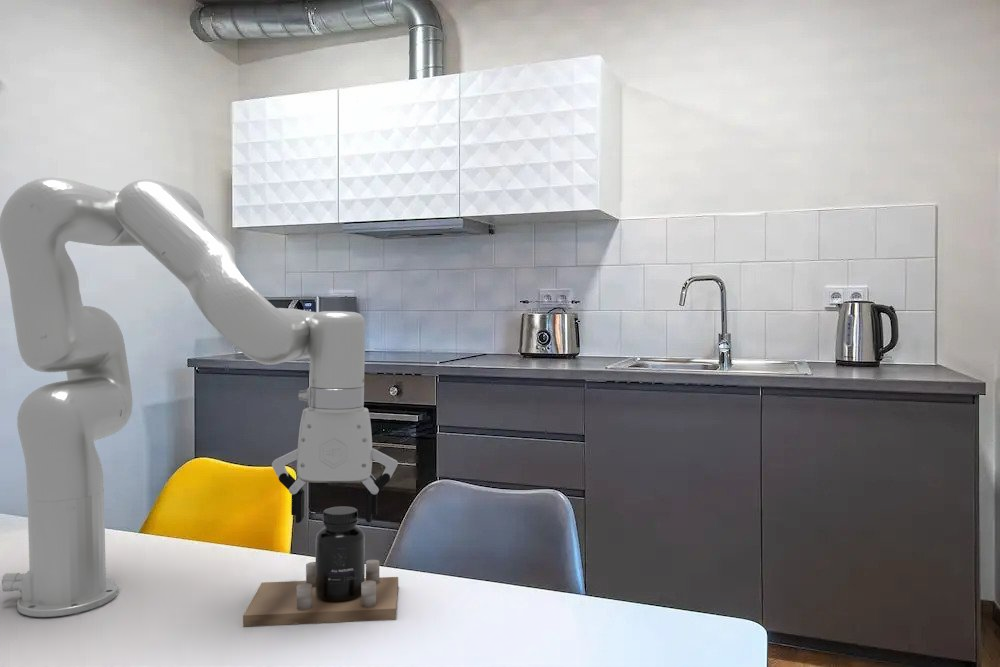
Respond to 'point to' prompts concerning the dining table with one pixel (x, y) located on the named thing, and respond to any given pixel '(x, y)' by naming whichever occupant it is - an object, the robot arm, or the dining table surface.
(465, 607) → the dining table surface
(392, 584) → the peg board
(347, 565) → the supplement bottle
